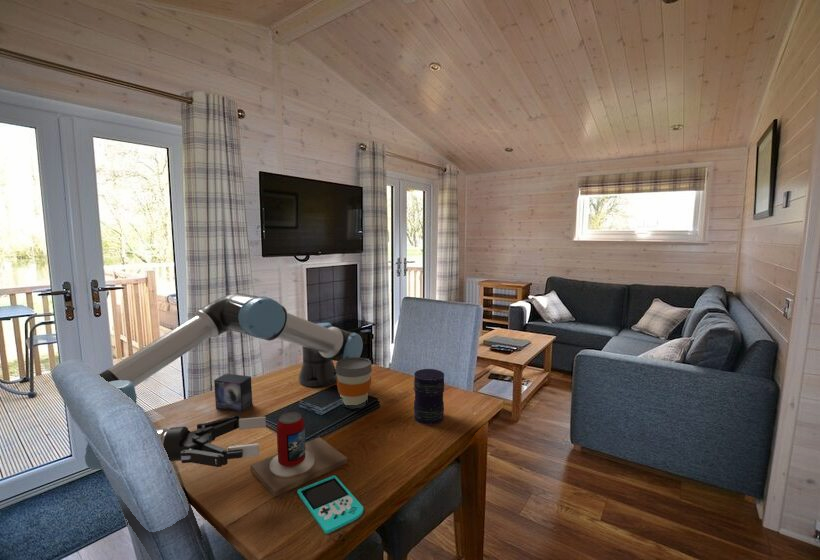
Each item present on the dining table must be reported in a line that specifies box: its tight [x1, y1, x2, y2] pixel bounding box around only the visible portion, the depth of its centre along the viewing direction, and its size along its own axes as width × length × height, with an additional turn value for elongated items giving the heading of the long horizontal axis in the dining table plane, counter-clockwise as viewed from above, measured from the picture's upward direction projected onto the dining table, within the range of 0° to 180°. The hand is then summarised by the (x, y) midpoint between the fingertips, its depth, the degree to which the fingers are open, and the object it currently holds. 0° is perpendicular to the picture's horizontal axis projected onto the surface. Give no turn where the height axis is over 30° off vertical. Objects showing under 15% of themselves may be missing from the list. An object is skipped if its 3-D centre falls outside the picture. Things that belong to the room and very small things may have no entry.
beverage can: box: [276, 411, 306, 467], centre depth 101 cm, size 7×7×12 cm
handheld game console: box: [297, 475, 364, 535], centre depth 90 cm, size 10×16×1 cm, turn 37°
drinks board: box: [250, 436, 348, 498], centre depth 103 cm, size 20×14×2 cm
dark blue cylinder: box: [413, 368, 445, 426], centre depth 129 cm, size 10×10×15 cm
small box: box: [213, 373, 253, 413], centre depth 137 cm, size 11×6×10 cm, turn 76°
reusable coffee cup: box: [335, 356, 373, 405], centre depth 139 cm, size 13×13×15 cm
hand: (262, 434), depth 99 cm, fingers open, 13 cm apart
